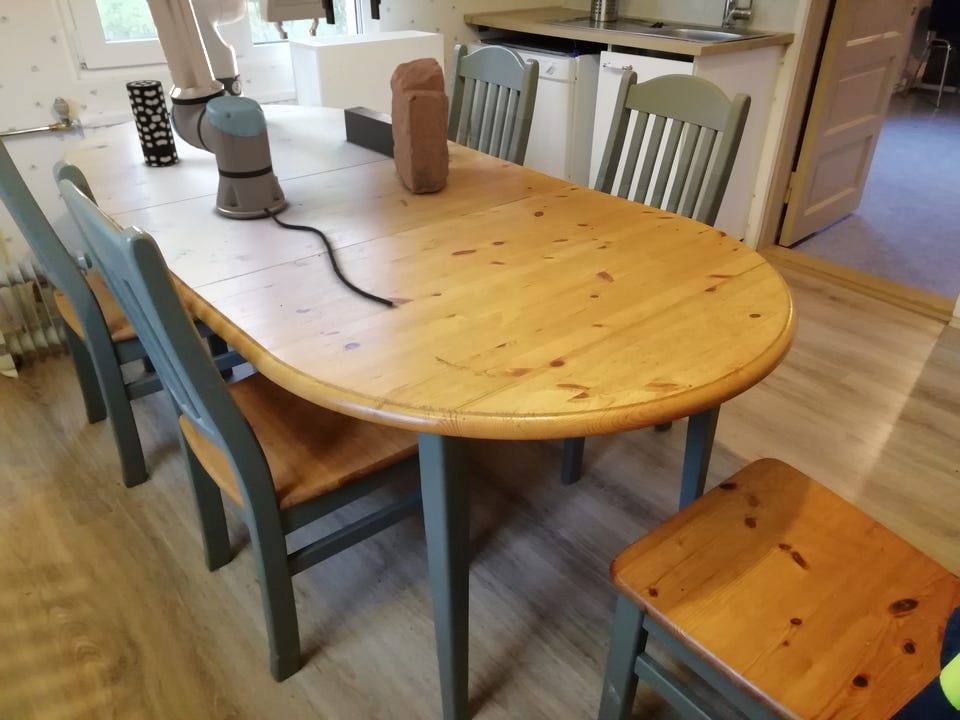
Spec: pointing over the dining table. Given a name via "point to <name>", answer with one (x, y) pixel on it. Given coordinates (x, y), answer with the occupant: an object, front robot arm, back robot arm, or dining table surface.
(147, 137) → the black white spotted cylinder
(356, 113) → the bar
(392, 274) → the dining table surface
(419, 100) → the stone
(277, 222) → the front robot arm
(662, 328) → the dining table surface
